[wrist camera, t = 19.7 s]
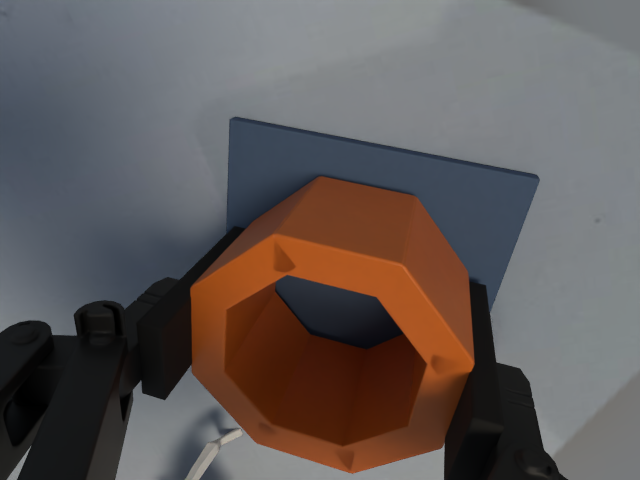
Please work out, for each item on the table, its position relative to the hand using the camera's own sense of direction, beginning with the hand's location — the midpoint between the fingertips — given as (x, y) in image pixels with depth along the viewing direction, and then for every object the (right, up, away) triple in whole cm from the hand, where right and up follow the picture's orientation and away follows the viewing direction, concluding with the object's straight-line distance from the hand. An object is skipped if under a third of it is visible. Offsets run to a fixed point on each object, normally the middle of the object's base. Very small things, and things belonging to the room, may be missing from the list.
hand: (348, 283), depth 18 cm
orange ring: (0, 0, 0) cm, 0 cm away
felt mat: (0, 0, +1) cm, 1 cm away
